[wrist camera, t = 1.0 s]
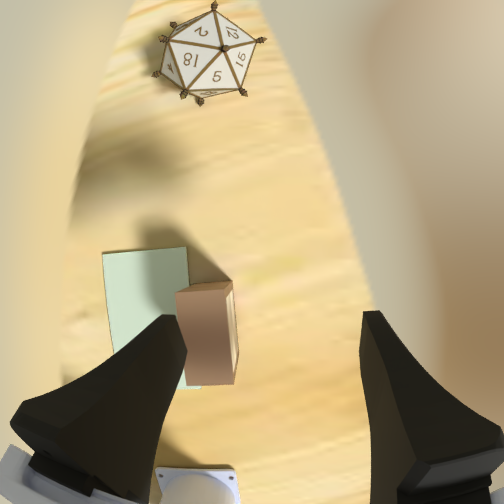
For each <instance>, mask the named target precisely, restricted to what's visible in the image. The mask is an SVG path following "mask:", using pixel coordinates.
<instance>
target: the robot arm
mask: <svg viewBox="0 0 504 504" xmlns="http://www.w3.org/2000/svg"><path fill="white" fill-rule="evenodd" d="M187 352H188V350H187V347H186V345H185V342H184V339H183V336H182V333H181V330H180V327H179V325H178V322H177V319H176V316H175V315H172V314H161V315H160V316H159V317H158V318H156V319H155V320H154V321H153V322H152V323H150V324H149V325H148V326H147V327H146V328H145V329H144V330H142V331H141V332H140V333H139V334H138V335H137V336H136V337H134V338H133V339H132V340H131V341H130V342H129V343H127V344H126V345H125V346H124V347H123V348H121V349H120V350H119V351H118V352H116V353H115V354H114V355H113V356H111V357H110V358H109V359H107V360H106V361H105V362H103V363H102V364H101V365H99V366H98V367H96V368H95V369H93V370H92V371H90V372H88V373H87V374H85V375H83V376H82V377H80V378H78V379H76V380H74V381H72V382H71V383H69V384H67V385H65V386H63V387H60V388H58V389H56V390H54V391H51V392H49V393H46V394H44V395H41V396H38V397H35V398H32V399H28V400H25V401H23V402H22V403H21V405H20V406H19V408H18V410H17V411H16V413H15V414H14V416H13V418H12V419H11V421H10V425H11V427H12V429H13V430H14V431H15V433H16V434H17V435H18V436H19V437H20V438H21V439H22V440H23V441H24V442H25V443H26V444H27V445H28V446H29V447H30V448H32V449H33V450H34V451H35V453H34V454H33V456H31V455H29V454H28V453H27V452H25V451H23V450H21V449H20V448H18V447H16V446H14V445H12V444H10V446H9V447H8V449H7V451H6V452H5V454H4V456H3V458H2V459H1V461H0V494H1V495H2V496H3V497H5V498H6V499H7V500H9V501H10V502H12V503H13V504H149V493H150V484H151V477H152V470H153V464H154V459H155V454H156V449H157V445H158V440H159V437H160V433H161V429H162V425H163V422H164V419H165V416H166V413H167V411H168V408H169V406H170V403H171V401H172V398H173V396H174V393H175V391H176V388H177V386H178V383H179V381H180V378H181V376H182V373H183V369H184V365H185V361H186V357H187ZM359 357H360V370H361V378H362V383H363V389H364V395H365V400H366V406H367V412H368V418H369V424H370V435H371V494H370V504H504V487H502V488H500V489H498V490H496V491H494V492H492V493H490V492H489V487H488V486H490V485H491V484H492V480H491V474H492V473H493V472H494V471H495V470H496V469H497V467H499V466H500V465H501V464H502V463H503V462H504V434H503V432H502V429H501V427H500V426H498V425H496V424H495V423H493V422H491V421H489V420H488V419H486V418H484V417H482V416H481V415H479V414H477V413H476V412H474V411H473V410H471V409H470V408H468V407H467V406H466V405H464V404H463V403H461V402H460V401H459V400H458V399H456V398H455V397H454V396H453V395H451V394H450V393H449V392H448V391H446V390H445V389H444V388H443V387H442V386H441V385H440V384H439V383H437V381H436V380H435V379H433V377H432V376H431V375H429V374H428V372H426V370H425V369H424V368H423V367H422V366H421V365H420V364H419V362H418V361H417V360H416V359H415V358H414V357H413V355H412V354H411V353H410V352H409V351H408V349H407V348H406V347H405V345H404V344H403V343H402V341H401V340H400V339H399V337H398V336H397V335H396V333H395V332H394V330H393V329H392V328H391V326H390V325H389V323H388V322H387V320H386V319H385V317H384V316H383V314H382V313H381V312H380V311H379V310H378V311H363V319H362V329H361V339H360V347H359ZM155 473H156V477H157V480H158V483H159V486H160V489H161V493H162V498H161V501H160V503H159V504H241V501H240V494H239V488H238V482H237V475H236V471H235V470H233V469H186V468H167V467H157V468H156V469H155ZM160 474H161V475H163V476H161V475H160ZM230 476H232V477H233V478H230Z"/></svg>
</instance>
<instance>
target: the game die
mask: <svg viewBox="0 0 504 504" xmlns="http://www.w3.org/2000/svg"><path fill="white" fill-rule="evenodd" d="M217 6H218V4H217V2H216V0H215V1H214V2H213V3H212V4H211V8H212V10H211V11H209V12H207V13H204V14H202V15H200V16H198V17H195V18H193V19H191V20H189V21H187V22H185V23H182V24H180V25H178V26H177V23H176V22H170V26H171V27H172V28H175V29H174V30H173V32H172V33H171V35H170V36H169V38H168V37H166V36H164V35H162V36H159V37H158V38H159V40H160V42H163V43H164V42H166V45H165V49H164V54H163V59H162V64H161V69H160V71H156V72H154V73H153V75H152V76H151V77H156V78H157V77H159V75H161V74H162V75H163V76H165V77H166V78H167V79H169V80H170V81H171V82H173V83H174V84H176V85H177V86H178V87H180V88H181V89H182V90H183V91H182V92H181V94H179V95H180V97H181V99H184V98H186V96H187V94H188V93H189V94H192V95H194V96H196V97H198V98H199V100H198V104H199V105H200V107H201V105H202V104H204V99H203V98H206V97H210V96H214V95H219V94H223V93H228V92H232V91H237V90H239V92H240V94H241V96H247V97H248V95H247V91H245V89H243V88H242V85H243V82H244V79H245V76H246V73H247V70H248V67H249V64H250V61H251V58H252V55H253V52H254V49H255V46H256V43H262V42H263V43H264V41H265V40H266V39H267V38H263V37H260V38H258V39H254V38H253V37H252V36H250V35H249V34H248V33H246V32H245V31H244V30H242V29H241V28H240V27H238V26H237V25H236V24H234V23H233V22H231V21H230V20H229V19H227V18H226V17H224V16H223V15H222V14H220V13H219V12H217V11H216V9H217Z"/></svg>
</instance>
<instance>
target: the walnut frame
mask: <svg viewBox="0 0 504 504" xmlns="http://www.w3.org/2000/svg"><path fill="white" fill-rule="evenodd" d="M175 301H176V310H177V319H178V325H179V327H180V330H181V333H182V336H183V339H184V342H185V345H186V347H187V350H188V352H187V357H186V361H185V365H184V373H185V379H186V386H209V385H232V384H234V380H235V374H236V368H237V362H238V356H239V347H238V336H237V326H236V315H235V304H234V293H233V282H232V281H222V282H209V283H196V284H193V285H191V286H189V287H187V288H184V289H182V290H180V291H178V292H175Z"/></svg>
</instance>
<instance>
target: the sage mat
mask: <svg viewBox="0 0 504 504" xmlns="http://www.w3.org/2000/svg"><path fill="white" fill-rule="evenodd" d="M103 268H104V279H105V289H106V299H107V307H108V315H109V323H110V330H111V336H112V343H113V349H114V354H115V353H116V352H118V351H119V350H120V349H121V348H123V347H124V346H125V345H126V344H127V343H129V342H130V341H131V340H132V339H133V338H134V337H136V336H137V335H138V334H139V333H140V332H141V331H142V330H144V329H145V328H146V327H147V326H148V325H149V324H150V323H152V322H153V321H154V320H155V319H156V318H158V317H159V316H160V315H161V314H172V315H175V316H176V319H177V310H176V301H175V292H178V291H180V290H182V289H184V288H187V287H189V286H190V285H189V274H188V263H187V250H186V247H178V248H167V249H156V250H145V251H134V252H124V253H113V254H103ZM177 322H178V319H177ZM201 388H202V387H201V386H186V379H185V373H184V369H183V373H182V376H181V378H180V381H179V383H178V386H177V388H176V389H201Z"/></svg>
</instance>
